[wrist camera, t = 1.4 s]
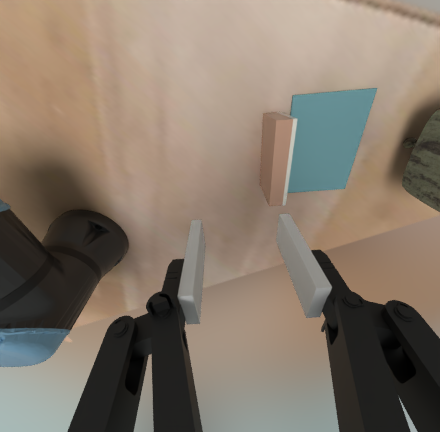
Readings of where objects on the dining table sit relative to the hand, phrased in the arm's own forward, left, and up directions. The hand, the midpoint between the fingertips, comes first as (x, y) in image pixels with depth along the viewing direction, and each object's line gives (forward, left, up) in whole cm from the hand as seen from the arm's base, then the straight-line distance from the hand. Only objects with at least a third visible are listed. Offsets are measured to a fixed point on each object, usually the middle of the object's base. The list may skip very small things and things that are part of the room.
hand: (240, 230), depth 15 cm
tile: (+7, 0, -21) cm, 22 cm away
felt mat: (+16, 0, -21) cm, 26 cm away
